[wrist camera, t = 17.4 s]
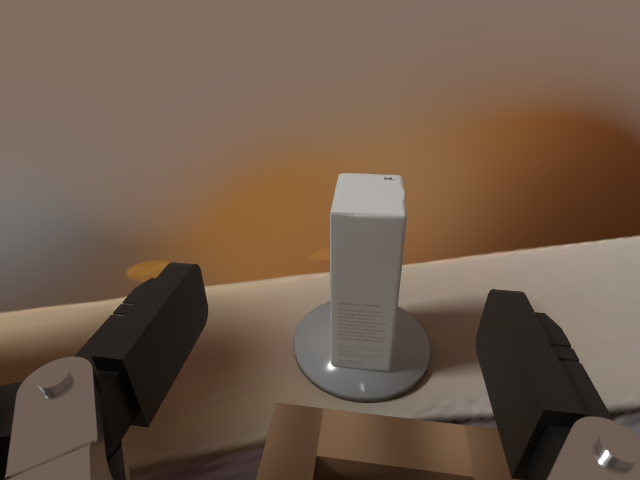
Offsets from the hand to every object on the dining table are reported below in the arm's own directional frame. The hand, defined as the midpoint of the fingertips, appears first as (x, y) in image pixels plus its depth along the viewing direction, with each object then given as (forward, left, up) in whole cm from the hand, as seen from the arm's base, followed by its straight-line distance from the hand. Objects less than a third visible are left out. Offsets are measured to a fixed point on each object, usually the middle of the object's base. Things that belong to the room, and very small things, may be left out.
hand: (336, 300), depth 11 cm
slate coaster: (+1, +13, -15) cm, 19 cm away
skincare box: (+1, +13, -14) cm, 19 cm away
